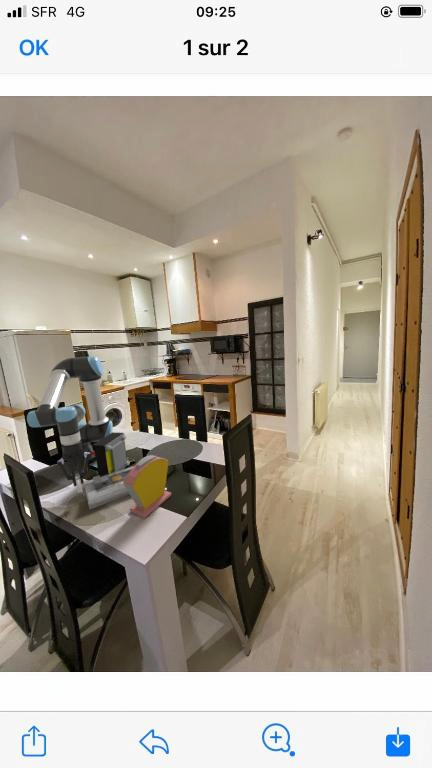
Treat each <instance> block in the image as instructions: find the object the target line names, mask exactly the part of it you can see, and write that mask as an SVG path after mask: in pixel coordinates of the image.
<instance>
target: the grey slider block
mask: <svg viewBox="0 0 432 768" xmlns="http://www.w3.org/2000/svg"><path fill="white" fill-rule="evenodd" d="M92 479H93V481H94V487H95V490H97V489H100V488H103V484H102V483H105V482H108V481H109V479H108V477H107V476H105V477H102V478H101V477H100V475H95V476H93V477H92Z"/></svg>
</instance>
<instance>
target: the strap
mask: <svg viewBox="0 0 432 768" xmlns="http://www.w3.org/2000/svg"><path fill="white" fill-rule="evenodd" d="M126 477H127V475H125V476H122V477H121V476H120V475H118V476H114V477H112V480H109V481H108V482H105V483H102V484H103V487H106V486H109V485H112V484H115V483H118V482H121V481H124V480H125V478H126Z"/></svg>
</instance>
